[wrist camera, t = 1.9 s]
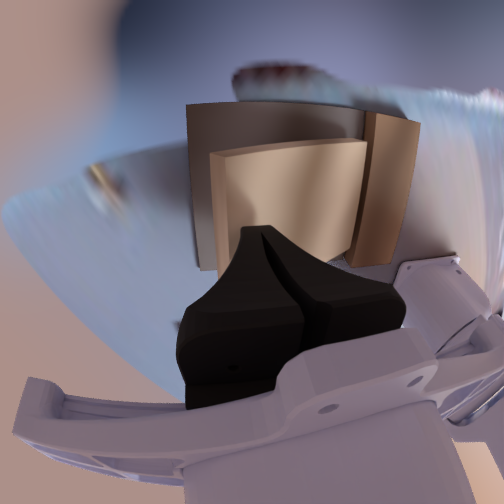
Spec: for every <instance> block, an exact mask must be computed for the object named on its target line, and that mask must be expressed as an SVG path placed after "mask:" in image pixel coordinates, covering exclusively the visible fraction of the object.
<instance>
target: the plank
mask: <svg viewBox="0 0 504 504" xmlns="http://www.w3.org/2000/svg"><path fill="white" fill-rule="evenodd" d="M366 148H367V142H366V141H362V140H358V139H354V138H337V139H319V140H305V141H294V142H283V143H274V144H265V145H257V146H250V147H243V148H236V149H230V150H224V151H218V152H212V153H210V173H211V191H212V207H213V221H214V235H215V248H216V260H217V271H218V280H219V278H220V277H221V276H222V274H223V273H224V272H225V270H226V269H227V267H228V265H229V264H230V262H231V260H232V258H233V256H234V254H235V252H236V249H237V246H238V243H239V240H240V229H241V228H242V227H243V226H258V225H271V226H273V227H274V228H275V229H277V230H278V231H279V232H280V233H282V234H283V235H284V236H285V237H287V238H288V239H289V240H290V241H292V242H293V243H294V244H296V245H297V246H299V247H300V248H301V249H303V250H305V251H306V252H308V253H309V254H311V255H312V256H314V257H316V258H318V259H320V260H321V261H323V262H327V261H329V260H331V259H332V258H334V257H336V256H338V255H339V254H341V253H343V252H344V251H346V250H348V249H350V245H351V241H352V236H353V231H354V226H355V221H356V215H357V210H358V204H359V198H360V192H361V185H362V179H363V172H364V164H365V156H366Z"/></svg>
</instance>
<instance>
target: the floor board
mask: <svg viewBox="0 0 504 504" xmlns="http://www.w3.org/2000/svg"><path fill="white" fill-rule="evenodd" d="M186 118H187V137H188V153H189V167H190V179H191V191H192V202H193V212H194V222H195V231H196V240H197V248H198V256H199V264H200V271H209V270H217V260H216V248H215V235H214V221H213V207H212V191H211V173H210V153H212V152H218V151H224V150H230V149H236V148H243V147H250V146H257V145H265V144H274V143H283V142H294V141H305V140H319V139H337V138H354V139H358V140H362V134H363V141H366V142H367V148H366V156H365V164H364V172H363V179H362V185H361V192H360V198H359V204H358V210H357V215H356V221H355V226H354V231H353V236H352V241H351V245H350V249H348V250H346V251H345V255H344V252H343V253H341V254H339V255H338V256H336V257H334V258H332V259H331V260H329V261H335V260H343V256H344V258H345V260H346V261H347V263H348V264H349V266H350V267H351V268H355V267H364V266H374V265H382V264H390V263H391V260H392V257H393V254H394V250H395V247H396V244H397V240H398V237H399V233H400V229H401V226H402V222H403V218H404V214H405V210H406V205H407V201H408V197H409V192H410V187H411V182H412V177H413V172H414V166H415V160H416V154H417V148H418V141H419V133H420V125H421V123H419V122H415V121H412V120H408V119H404V118H399V117H395V116H390V115H385V114H380V113H375V112H369V111H365V122H364V111H363V110H356V109H350V108H342V107H334V106H325V105H315V104H302V103H285V102H219V103H203V104H191V105H186ZM363 123H364V133H363Z"/></svg>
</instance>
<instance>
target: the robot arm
mask: <svg viewBox="0 0 504 504" xmlns="http://www.w3.org/2000/svg"><path fill="white" fill-rule="evenodd" d="M459 260H460V257H459V256H458V255H455V256H447V257H440V258H432V259H425V260H417V261H409V262H403V263H402V264H401V265H400V268H399V271H398V273H397V276H396V279H395V282H394V284H393V285H392V284H388V283H383V282H379V281H374V280H370V279H366V278H363V277H360V276H357V275H354V274H351V273H348V272H345V271H343V270H341V269H338V268H336V267H333V266H331V265H329V264H327V263H325V262H323V261H321V260H320V259H318V258H316V257H314V256H312V255H311V254H309V253H308V252H306V251H305V250H303V249H301V248H300V247H299V246H297V245H296V244H294V243H293V242H292V241H290V240H289V239H288V238H287V237H285V236H284V235H283V234H282V233H280V232H279V231H278V230H277V229H275V228H274V227H273V226H271V225H258V226H243V227H242V228H241V229H240V240H239V243H238V246H237V249H236V252H235V254H234V256H233V258H232V260H231V262H230V264H229V265H228V267H227V269H226V270H225V272H224V273H223V274H222V276H221V277H220V278H219V280H218V281H217V282H216V283H215V284H214V286H213V287H212V288H211V289H210V290H209V291H208V292H207V293H206V294H204V295H203V296H202V297H201V298H200V299H198V300H197V301H195V302H194V303H193V304H191V305H190V306H188V307H187V308H186V311H185V313H184V316H183V318H182V321H181V324H180V328H179V332H178V336H177V344H176V360H177V364H178V366H179V369H180V372H181V374H182V377H183V380H184V382H185V403H169V404H168V403H138V402H123V401H111V400H101V399H94V398H86V397H79V396H73V395H67V394H65V393H64V392H63V391H62V389H61V388H60V387H59V386H57V385H56V384H55V383H53V382H51V381H48V380H43V379H38V378H33V377H28V379H27V382H26V385H25V388H24V391H23V394H22V397H21V400H20V404H19V407H18V411H17V414H16V418H15V422H14V426H13V431H12V433H13V435H14V436H16V437H17V438H19V439H20V440H22V441H23V442H25V443H26V444H28V445H29V446H31V447H32V448H34V449H35V450H37V451H39V452H40V453H42V454H44V455H45V456H47V457H49V458H51V459H52V460H55V461H58V462H62V463H65V464H68V465H71V466H74V467H78V468H81V469H85V470H89V471H92V472H96V473H100V474H105V475H108V476H113V477H117V478H123V479H127V480H133V481H139V482H145V483H151V484H159V485H168V486H179V487H184V493H185V504H476V501H475V498H474V495H473V492H472V490H471V487H470V484H469V481H468V478H467V476H466V473H465V470H464V468H463V465H462V463H461V460H460V458H459V456H458V453H457V451H456V448H455V446H454V444H453V442H452V439H451V438H453V439H454V441H455V442H485V443H486V444H487V446H488V448H489V450H490V452H491V454H492V456H493V458H494V460H495V462H496V464H497V466H498V468H499V470H500V473H501V475H502V477H503V479H504V388H503V389H502V390H501V391H500V392H499V393H498V394H497V395H495V396H494V397H493V398H492V399H491V400H490V401H489V402H487V403H486V404H485V405H484V406H483V407H481V408H480V409H479V410H477V409H478V408H479V407H480V406H481V405H482V404H484V403H485V402H486V401H487V400H488V399H489V398H491V397H492V396H493V395H494V394H495V393H496V392H497V391H498V390H499V389H500V388H501V387H503V386H504V321H503V319H502V318H501V317H500V316H499V315H493V314H492V311H491V305H490V302H489V299H488V297H487V295H486V294H485V293H484V292H483V290H482V289H481V288H480V287H479V286H478V285H477V284H476V283H475V282H474V281H473V280H472V279H471V277H470V276H469V275H468V274H467V273H466V272H465V271H464V270H463V269H462V268H461V267H460V266H459V265H458V263H459ZM402 324H403V326H404V327H405V328H400V327H401V325H402ZM475 410H477V411H476V412H474V411H475ZM473 412H474V413H473Z"/></svg>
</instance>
